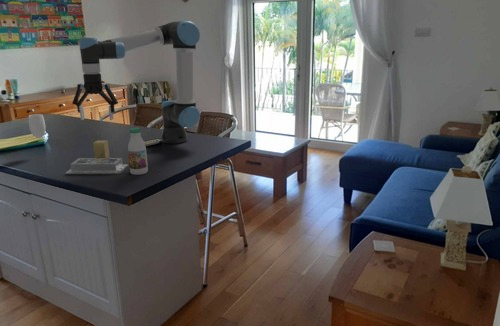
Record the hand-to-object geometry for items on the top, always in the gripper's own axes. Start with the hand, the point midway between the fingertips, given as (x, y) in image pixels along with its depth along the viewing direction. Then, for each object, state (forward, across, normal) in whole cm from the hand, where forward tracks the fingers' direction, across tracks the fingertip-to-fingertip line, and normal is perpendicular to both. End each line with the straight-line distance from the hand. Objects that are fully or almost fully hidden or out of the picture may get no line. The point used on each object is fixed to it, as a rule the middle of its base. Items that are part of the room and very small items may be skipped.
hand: (97, 119), depth 188 cm
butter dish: (+21, -2, +12) cm, 24 cm away
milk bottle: (+21, -22, +16) cm, 34 cm away
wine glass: (+21, +35, -11) cm, 42 cm away
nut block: (+21, 0, 0) cm, 21 cm away
